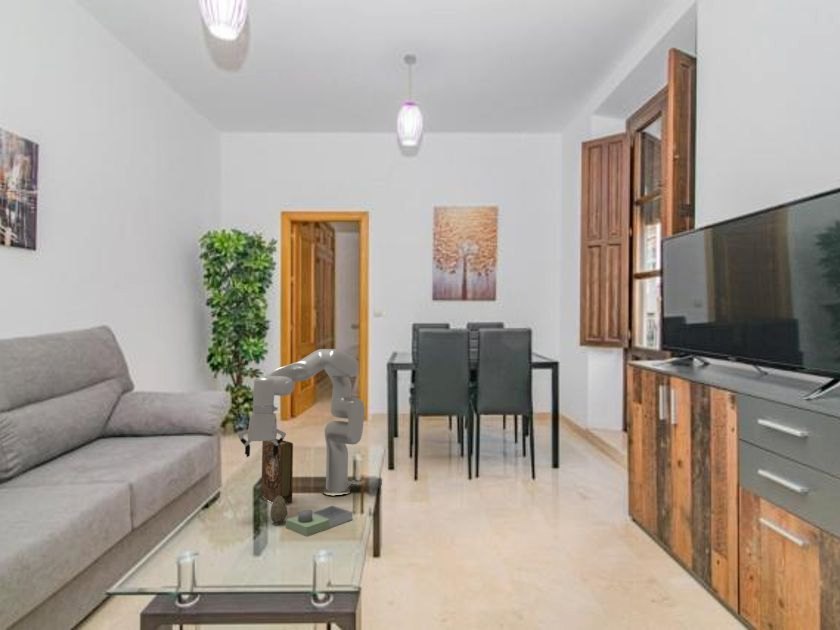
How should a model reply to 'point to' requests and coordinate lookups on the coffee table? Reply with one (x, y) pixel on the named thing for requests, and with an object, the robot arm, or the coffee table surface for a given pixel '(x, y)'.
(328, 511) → the tray
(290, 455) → the book
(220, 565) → the coffee table surface
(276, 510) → the decorative egg
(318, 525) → the deck
